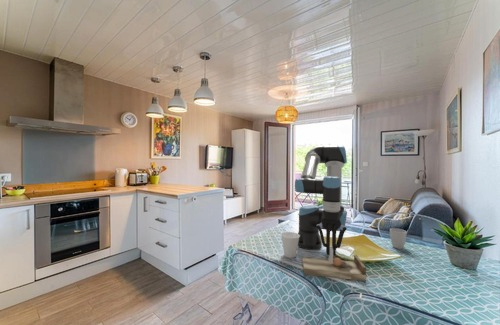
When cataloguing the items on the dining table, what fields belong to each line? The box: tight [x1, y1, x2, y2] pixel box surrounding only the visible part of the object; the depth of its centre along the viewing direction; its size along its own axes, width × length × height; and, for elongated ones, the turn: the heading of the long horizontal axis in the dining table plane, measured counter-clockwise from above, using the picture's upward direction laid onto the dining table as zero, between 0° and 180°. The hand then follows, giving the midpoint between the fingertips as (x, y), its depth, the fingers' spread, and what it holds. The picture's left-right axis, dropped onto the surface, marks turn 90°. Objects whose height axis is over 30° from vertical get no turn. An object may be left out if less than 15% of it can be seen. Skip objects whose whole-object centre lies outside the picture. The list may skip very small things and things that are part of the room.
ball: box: [333, 256, 342, 266], centre depth 94 cm, size 4×4×4 cm
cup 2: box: [389, 227, 407, 250], centre depth 123 cm, size 8×8×10 cm
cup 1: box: [280, 231, 300, 259], centre depth 109 cm, size 10×10×11 cm
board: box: [301, 254, 367, 282], centre depth 94 cm, size 12×25×6 cm, turn 79°
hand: (330, 262), depth 94 cm, fingers closed
